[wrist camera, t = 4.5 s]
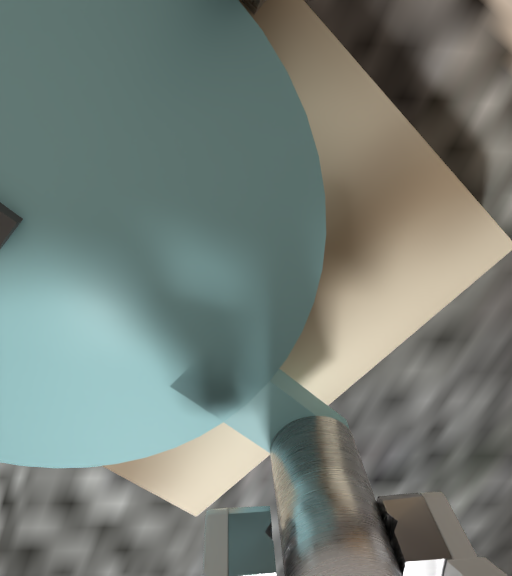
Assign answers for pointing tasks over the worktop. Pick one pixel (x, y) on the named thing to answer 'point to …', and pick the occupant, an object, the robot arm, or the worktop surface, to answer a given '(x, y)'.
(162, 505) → the worktop surface
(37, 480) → the worktop surface
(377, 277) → the dial base
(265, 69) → the dial
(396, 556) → the robot arm
